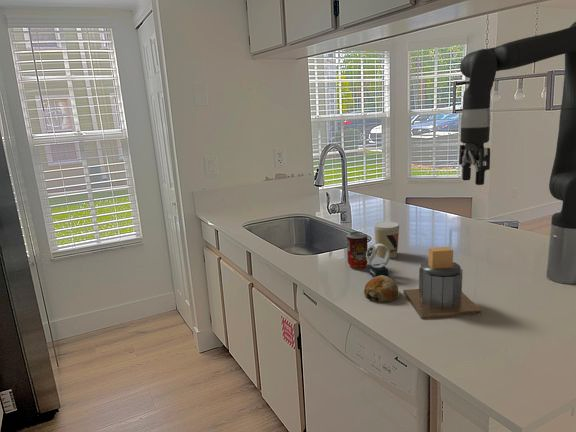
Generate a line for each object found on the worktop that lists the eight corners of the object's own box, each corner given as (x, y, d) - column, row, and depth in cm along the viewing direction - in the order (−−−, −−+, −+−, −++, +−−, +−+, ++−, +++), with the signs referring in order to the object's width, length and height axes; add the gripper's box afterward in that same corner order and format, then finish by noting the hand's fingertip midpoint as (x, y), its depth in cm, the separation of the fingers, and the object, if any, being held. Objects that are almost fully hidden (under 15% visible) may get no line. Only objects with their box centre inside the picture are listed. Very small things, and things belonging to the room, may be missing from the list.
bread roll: (399, 312, 125) (410, 287, 124) (370, 304, 121) (381, 278, 120) (382, 298, 134) (392, 275, 133) (355, 290, 130) (365, 267, 129)
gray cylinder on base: (455, 289, 128) (457, 258, 126) (481, 314, 113) (483, 278, 110) (403, 293, 128) (403, 261, 126) (421, 318, 112) (421, 282, 110)
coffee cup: (391, 260, 156) (391, 229, 153) (369, 256, 162) (369, 225, 159) (403, 253, 162) (403, 223, 159) (382, 249, 168) (381, 220, 166)
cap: (451, 266, 123) (451, 242, 122) (466, 280, 113) (467, 253, 112) (415, 269, 123) (415, 244, 121) (428, 283, 113) (428, 256, 111)
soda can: (352, 271, 148) (352, 237, 145) (344, 264, 154) (343, 232, 152) (371, 268, 150) (370, 234, 147) (362, 261, 156) (361, 229, 154)
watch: (363, 274, 144) (363, 243, 142) (386, 271, 146) (385, 240, 143) (370, 280, 139) (369, 248, 137) (393, 277, 141) (393, 245, 138)
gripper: (501, 125, 113) (497, 185, 117) (476, 124, 127) (474, 177, 131) (473, 127, 113) (470, 187, 117) (451, 125, 127) (450, 179, 130)
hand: (472, 182), depth 124 cm, fingers open, 8 cm apart
